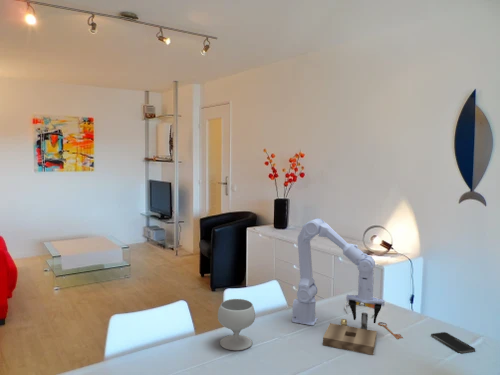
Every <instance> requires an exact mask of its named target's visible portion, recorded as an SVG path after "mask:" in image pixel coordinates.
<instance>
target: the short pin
mask: <svg viewBox="0 0 500 375" xmlns="http://www.w3.org/2000/svg"><path fill="white" fill-rule="evenodd" d="M340 325H344V326H348V320H347V319H346V318H341V319H340Z"/></svg>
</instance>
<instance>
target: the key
mask: <svg viewBox="0 0 500 375" xmlns="http://www.w3.org/2000/svg"><path fill="white" fill-rule="evenodd" d="M377 324H378V326H380V327H383V328H385V329H386V330H387V332H389V333H390V334H391V335H392V336H393V337H394V338H395V339H396V340H400V339H404V337H403V335H402V334H401V333H394V332H393V331H391V329H389V327H388V324H387V323H385V322H381V321H379V322H378V323H377Z"/></svg>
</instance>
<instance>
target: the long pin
mask: <svg viewBox="0 0 500 375" xmlns="http://www.w3.org/2000/svg"><path fill="white" fill-rule="evenodd" d="M368 318H369V313H368V312H361V323H360V328H362V329H367V330H368V320H369V319H368Z"/></svg>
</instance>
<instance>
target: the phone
mask: <svg viewBox="0 0 500 375" xmlns="http://www.w3.org/2000/svg"><path fill="white" fill-rule="evenodd" d="M430 337H431V338H432V339H434V340H435V341H437V342H438V343H441V344H442V345H443V346H445V347H447V348H448V349H451V350H452V351H454V352H455V353H456V354H459V353H460V354H462V355H463V354H469V353H474V352H476V348H475V347H473V346H471V345H469V344H468V343H466V342H464V341H462V340H460V339H459V338H457V337H455V336H454V335H452V334H450V333H448V332H445V331H442V332H434V333H431V334H430Z"/></svg>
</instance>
